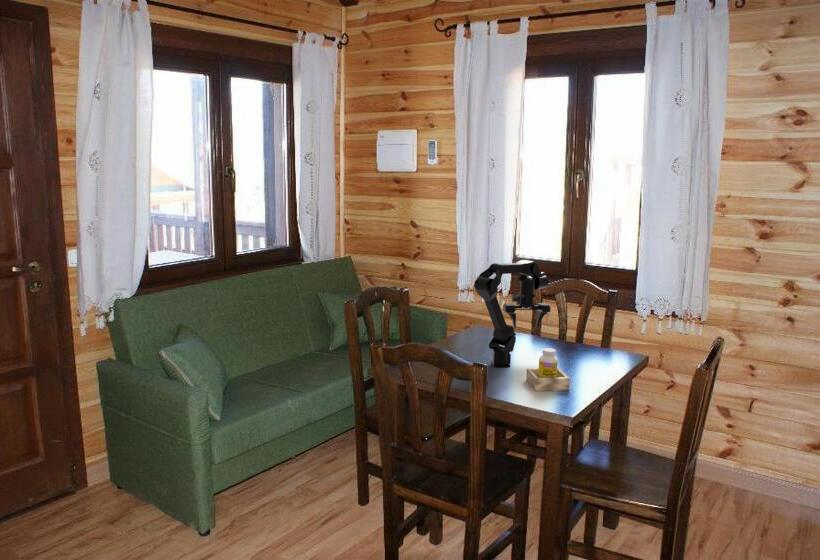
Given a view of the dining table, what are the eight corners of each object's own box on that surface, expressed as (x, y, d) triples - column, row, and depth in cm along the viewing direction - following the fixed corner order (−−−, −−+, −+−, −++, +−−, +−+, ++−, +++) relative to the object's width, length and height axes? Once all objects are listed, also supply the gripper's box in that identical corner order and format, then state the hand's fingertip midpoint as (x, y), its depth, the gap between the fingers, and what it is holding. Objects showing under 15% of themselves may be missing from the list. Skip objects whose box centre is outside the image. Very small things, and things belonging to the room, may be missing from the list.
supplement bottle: (539, 386, 253) (541, 352, 251) (536, 380, 260) (538, 347, 258) (557, 386, 253) (560, 352, 251) (554, 380, 260) (556, 347, 258)
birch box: (535, 391, 250) (536, 379, 249) (526, 380, 262) (526, 368, 261) (569, 390, 251) (569, 378, 251) (558, 379, 264) (558, 367, 263)
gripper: (543, 287, 294) (541, 323, 297) (499, 287, 292) (498, 323, 295) (551, 292, 283) (549, 329, 286) (506, 292, 281) (505, 330, 284)
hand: (525, 328), depth 288 cm, fingers open, 9 cm apart
